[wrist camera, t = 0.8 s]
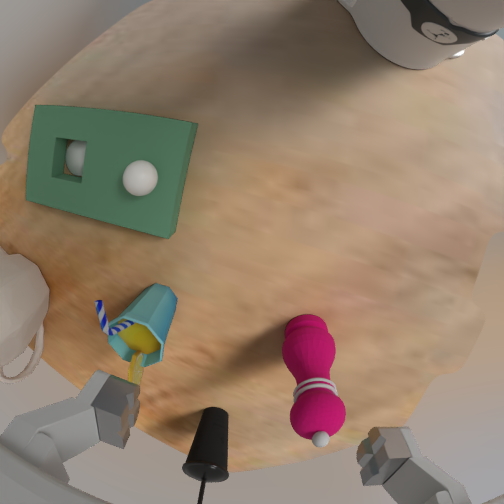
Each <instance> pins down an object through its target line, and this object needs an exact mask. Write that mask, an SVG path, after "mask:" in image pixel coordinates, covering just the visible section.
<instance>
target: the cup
mask: <svg viewBox="0 0 504 504" xmlns="http://www.w3.org/2000/svg"><path fill="white" fill-rule="evenodd" d="M176 304H177V297H176V296H175V294H174V293H173V292H172V290H171V289H170V287H167V286H164V285H160V284H157V283H155V284H153V285H152V286H150V287H148V288H146V289H145V290H144V291H143V292H142V293H141V294H140V295H139V296H138V297H137V298H136V299H135V300H134V301H133V302H132V303H131V304H130V305H129V306H128V307H127V308H126V309H125V310H124V311H123V312H122V313H121V314H120V315H119V316H118V317H117V318H115V319H113V320H112V321H111V322H109V323H108V320H107V317H106V313H105V309H104V306H103V302H102V300H97V301H95V306H96V310H97V314H98V317H99V321H100V325H101V328H102V331H103V332H104V333H105V334H107V335H108V343H109V344H110V345H111V346H112V348H113V349H114V350H115V351H116V352H117V353H118V354H119V356H120V357H121V358H122V359H123V360H125V361H128V362H131V363H130V366H129V371H128V381H129V382H132V383H135V384H137V385H140V382H141V378H142V374H143V367H146V366H149V365H152V364H155V363H157V362H160V361H162V357H163V351H164V344H165V341H166V337H167V334H168V331H169V328H170V325H171V322H172V319H173V316H174V313H175V310H176Z"/></svg>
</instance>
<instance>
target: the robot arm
mask: <svg viewBox="0 0 504 504" xmlns="http://www.w3.org/2000/svg"><path fill="white" fill-rule="evenodd" d="M338 1H339V2H340V3H341V4H342V5H343V6H344V7H345V8H346V9H347V10H348V11H349V12H350V14H351V15H352V17H353V19H354V21H355V23H356V25H357V27H358V29H359V31H360V33H361V34H362V36H363V37H364V38H365V40H366V41H367V42H368V43H369V44H370V45H371V46H372V47H373V48H374V49H375V50H376V51H377V52H378V53H380V54H381V55H382V56H384V57H385V58H387V59H388V60H390V61H392V62H394V63H396V64H398V65H400V66H403V67H406V68H410V69H428V68H432V67H434V66H436V65H438V64H439V63H440V62H442V61H443V60H445V59H447V58H458V57H460V56H462V55H463V54H464V49H466V48H468V47H470V46H471V45H473V44H475V43H477V42H479V41H480V40H485V39H487V38H489V37H490V36H492V35H494V34H495V33H496V32H497V31H498V30H499V29H500V28H503V27H504V0H338ZM139 394H140V386H139V385H137V384H135V383H132V382H129V381H127V380H124V379H121V378H119V377H116V376H114V375H111V374H108V373H106V372H103V371H101V370H97V371H95V372H94V374H93V375H92V376H91V378H90V379H89V381H88V382H87V383H86V385H85V386H84V388H83V389H82V390H81V392H80V393H79V395H78V396H77V397H76V399H74V398H69V399H66V400H63V401H60V402H57V403H54V404H51V405H48V406H46V407H42V408H39V409H37V410H34V411H30V412H27V413H24V414H21V415H18V416H16V417H15V418H14V419H13V420H12V422H11V423H10V424H9V425H8V427H7V428H6V429H5V430H4V432H3V433H2V434H1V436H0V504H111V503H109V502H107V501H104V500H102V499H99V498H96V497H95V496H92V495H90V494H88V493H86V492H83V491H81V490H79V489H77V488H75V487H73V486H71V485H69V484H68V481H69V476H68V474H67V472H66V470H65V468H64V465H63V462H65V461H67V460H68V459H70V458H72V457H74V456H76V455H78V454H80V453H81V452H83V451H85V450H87V449H88V448H90V447H92V446H94V445H95V444H97V443H99V442H100V441H103V442H105V443H108V444H111V445H114V446H116V447H119V448H122V449H124V447H125V445H126V442H127V440H128V438H129V436H130V428H131V427H133V426H134V425H135V422H136V420H137V417H138V413H139V408H140V401H139V400H138V396H139ZM368 436H369V437H368V438H366V439H364V440H363V441H362V442H361V443H360V445H359V446H358V450H357V462H358V464H360V466H361V467H362V469H361V471H360V474H361V478H362V483H363V486H369V485H382V486H383V487H384V489H385V490H386V491H387V492H388V493H389V494H390V495H391V497H392V498H393V499H394V500H395V501H396V502H397V503H398V504H471V501H470V499H469V497H468V494H467V492H466V490H465V488H464V485H463V484H461V483H460V482H459V481H457V480H456V479H455V478H453V477H452V476H451V475H449V474H448V473H447V472H445V471H444V470H443V469H441V468H440V467H439V466H438V465H436V464H435V463H434V462H432V461H431V460H430V459H428V458H427V457H426V456H422V453H421V451H420V449H419V446H418V444H417V442H416V440H415V437H414V435H413V433H412V431H411V429H410V428H409V427H374V428H372V429H371V430H370V431H369V432H368ZM482 504H504V494H503V495H501V496H499V497H496V498H494V499H492V500H489V501H488V502H485V503H482Z"/></svg>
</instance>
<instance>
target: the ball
mask: <svg viewBox="0 0 504 504" xmlns="http://www.w3.org/2000/svg"><path fill="white" fill-rule="evenodd" d="M157 181H158V174H157V170H156V168H155V167H154V166H153V165H152V164H151V163H150V162H148V161H144V160H138V161H135V162H132V163H131V164H130V165H128V166H127V168H126V169H125V171H124V174H123V184H124V187H125V188H126V190H127V191H128V192H129V193H131V194H132V195H135V196H144V195H147V194H149V193H150V192H151V191H152V190H153V189H154V188H155V186H156V184H157Z"/></svg>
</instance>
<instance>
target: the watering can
mask: <svg viewBox="0 0 504 504" xmlns="http://www.w3.org/2000/svg"><path fill="white" fill-rule="evenodd" d="M49 292H50V290H49V288H48V286H47V284H46V282H45V280H44V278H43V276H42V274H41V272H40V270H39V268H38V266H37V265H36V264H34V263H33V262H31V261H30V260H28V259H27V258H25V257H24V256H22V255H21V254H13V255H8V254H7V253H6V252H5V251H4V250H3V249H2V248H1V247H0V382H4V383H7V384H14V383H16V382H19V381H21V380H23V379H25V378H26V377H27V376H28V375H30V374H31V373H32V372H33V371H34V369H35V368H36V366H37V365H38V363H39V360H40V358H41V355H42V352H43V348H44V326H43V320H44V318H45V316H46V314H47V311H48V305H49ZM35 334H36V343H35V350H34V352H33V354H32V357H31V359H30V362H29V364H28V365H27V366H26V368H25V369H24V370H23V371H22V372H21V373H20V374H18V375H17V376H15V377H11V378H9V377H6V376H4V374H3V370H2V368H3V366H5V365H7V364H9V363H10V362H11V361H13V360H14V359H15V358H17V357H18V356H19V355H20V354H22V353H23V352H24V351H25V349H26V348H27V346H28V345H29V343H30V342H31V340H32V339H33V337H34V336H35Z"/></svg>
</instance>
